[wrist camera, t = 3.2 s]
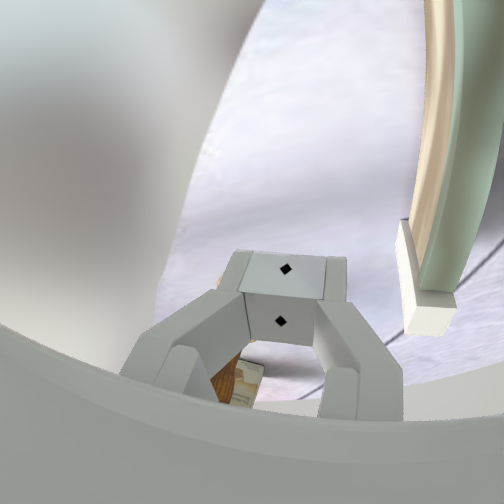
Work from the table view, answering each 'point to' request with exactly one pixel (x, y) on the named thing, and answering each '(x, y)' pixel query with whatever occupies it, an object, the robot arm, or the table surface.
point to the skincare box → (246, 383)
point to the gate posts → (420, 292)
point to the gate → (457, 134)
